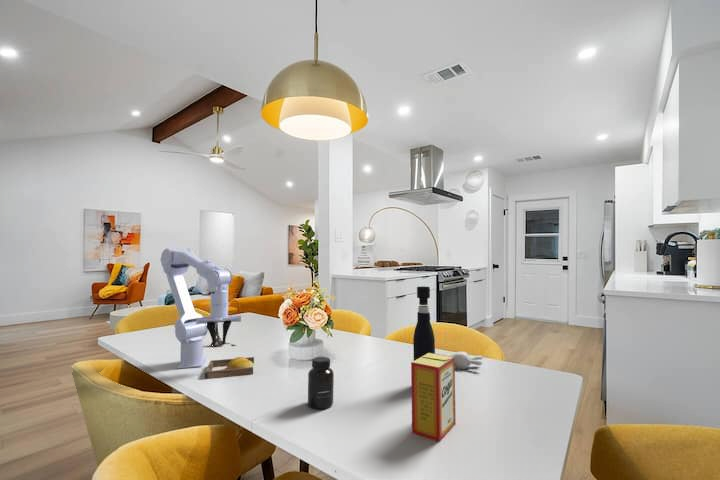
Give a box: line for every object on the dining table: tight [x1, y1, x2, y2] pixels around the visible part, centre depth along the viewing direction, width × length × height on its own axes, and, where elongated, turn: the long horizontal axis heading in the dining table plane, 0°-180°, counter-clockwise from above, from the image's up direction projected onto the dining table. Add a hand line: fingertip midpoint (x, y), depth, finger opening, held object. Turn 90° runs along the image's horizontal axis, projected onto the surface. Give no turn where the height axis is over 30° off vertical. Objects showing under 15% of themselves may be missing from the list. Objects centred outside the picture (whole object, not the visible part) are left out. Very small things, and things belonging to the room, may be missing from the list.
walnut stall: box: [204, 356, 255, 380], centre depth 121 cm, size 13×15×2 cm
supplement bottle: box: [307, 356, 335, 410], centre depth 93 cm, size 7×7×12 cm
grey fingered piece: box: [442, 351, 483, 370], centre depth 122 cm, size 10×5×15 cm
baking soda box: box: [410, 353, 457, 443], centre depth 80 cm, size 10×6×16 cm
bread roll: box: [226, 356, 254, 369], centre depth 121 cm, size 8×9×4 cm
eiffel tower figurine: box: [209, 323, 238, 348], centre depth 154 cm, size 15×10×13 cm
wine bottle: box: [412, 285, 436, 361], centre depth 105 cm, size 6×6×30 cm
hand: (219, 343), depth 120 cm, fingers open, 2 cm apart
